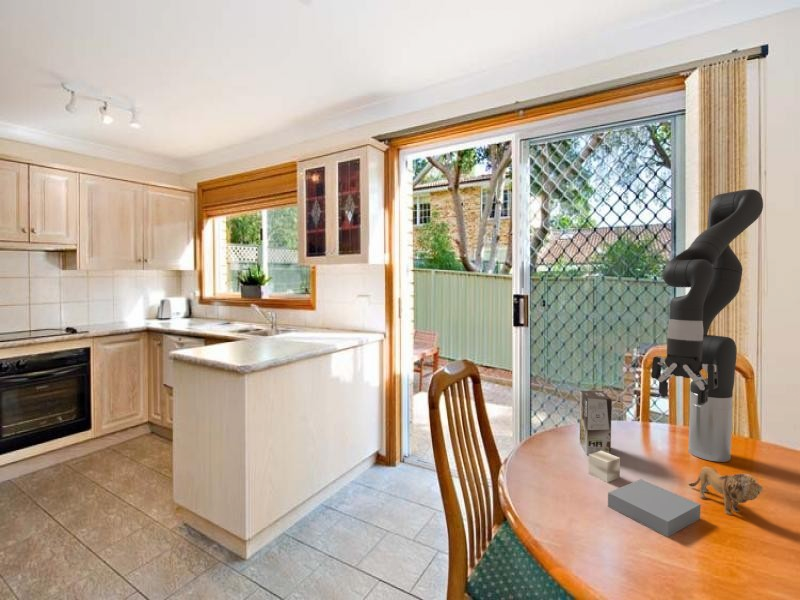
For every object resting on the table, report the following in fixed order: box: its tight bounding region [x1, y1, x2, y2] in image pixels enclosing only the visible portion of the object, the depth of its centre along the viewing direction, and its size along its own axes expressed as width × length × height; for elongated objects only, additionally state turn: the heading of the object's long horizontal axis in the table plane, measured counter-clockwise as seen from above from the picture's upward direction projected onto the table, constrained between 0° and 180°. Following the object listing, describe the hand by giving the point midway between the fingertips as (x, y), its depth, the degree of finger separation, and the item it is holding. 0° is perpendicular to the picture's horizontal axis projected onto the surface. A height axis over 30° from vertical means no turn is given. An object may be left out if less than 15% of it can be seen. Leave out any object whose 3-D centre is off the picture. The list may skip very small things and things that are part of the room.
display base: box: [607, 478, 702, 538], centre depth 84 cm, size 12×12×3 cm
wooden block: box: [588, 451, 621, 483], centre depth 100 cm, size 5×5×5 cm
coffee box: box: [579, 390, 613, 456], centre depth 115 cm, size 9×6×16 cm
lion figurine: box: [688, 465, 763, 516], centre depth 87 cm, size 15×5×9 cm, turn 13°
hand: (681, 400), depth 104 cm, fingers open, 8 cm apart
